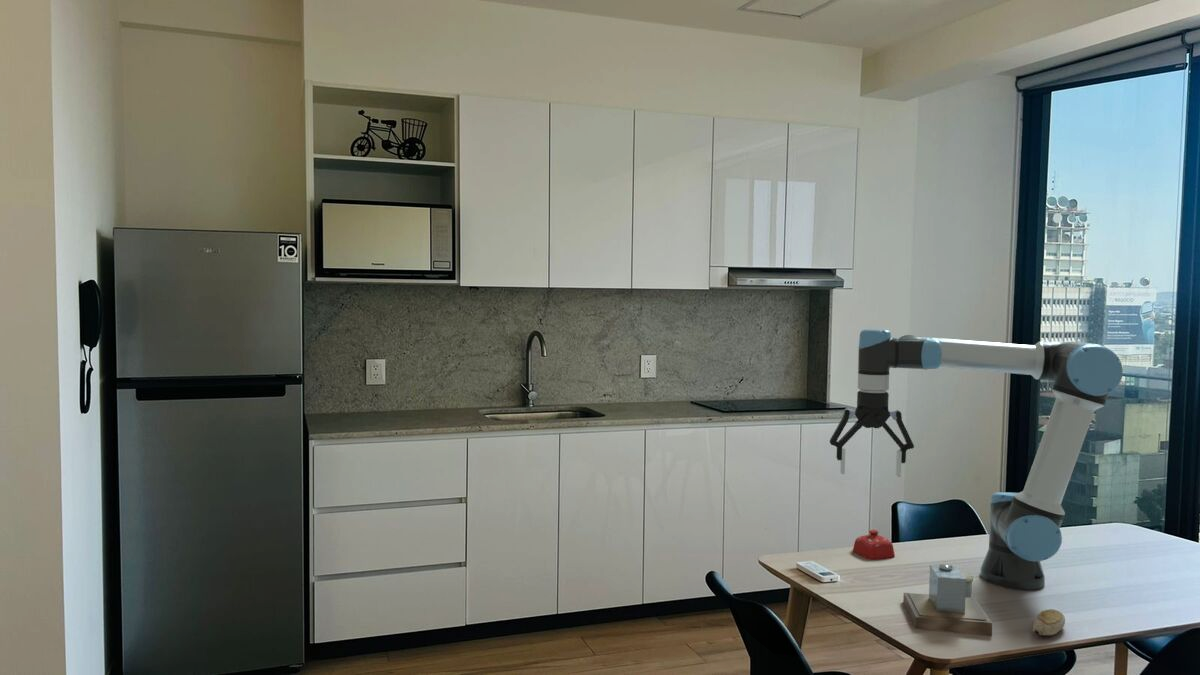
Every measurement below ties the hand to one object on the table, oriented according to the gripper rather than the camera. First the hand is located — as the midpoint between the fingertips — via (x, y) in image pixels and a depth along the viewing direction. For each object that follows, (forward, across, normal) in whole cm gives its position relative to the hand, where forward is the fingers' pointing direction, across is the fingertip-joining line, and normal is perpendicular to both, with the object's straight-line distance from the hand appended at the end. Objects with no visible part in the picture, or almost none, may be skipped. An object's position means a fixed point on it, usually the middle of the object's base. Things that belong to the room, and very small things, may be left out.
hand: (870, 474), depth 222 cm
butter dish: (+29, -5, -24) cm, 38 cm away
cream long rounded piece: (+26, -35, +18) cm, 47 cm away
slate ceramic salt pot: (+29, -21, +7) cm, 36 cm away
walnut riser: (+29, -15, +20) cm, 38 cm away
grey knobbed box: (+25, -15, +20) cm, 36 cm away
